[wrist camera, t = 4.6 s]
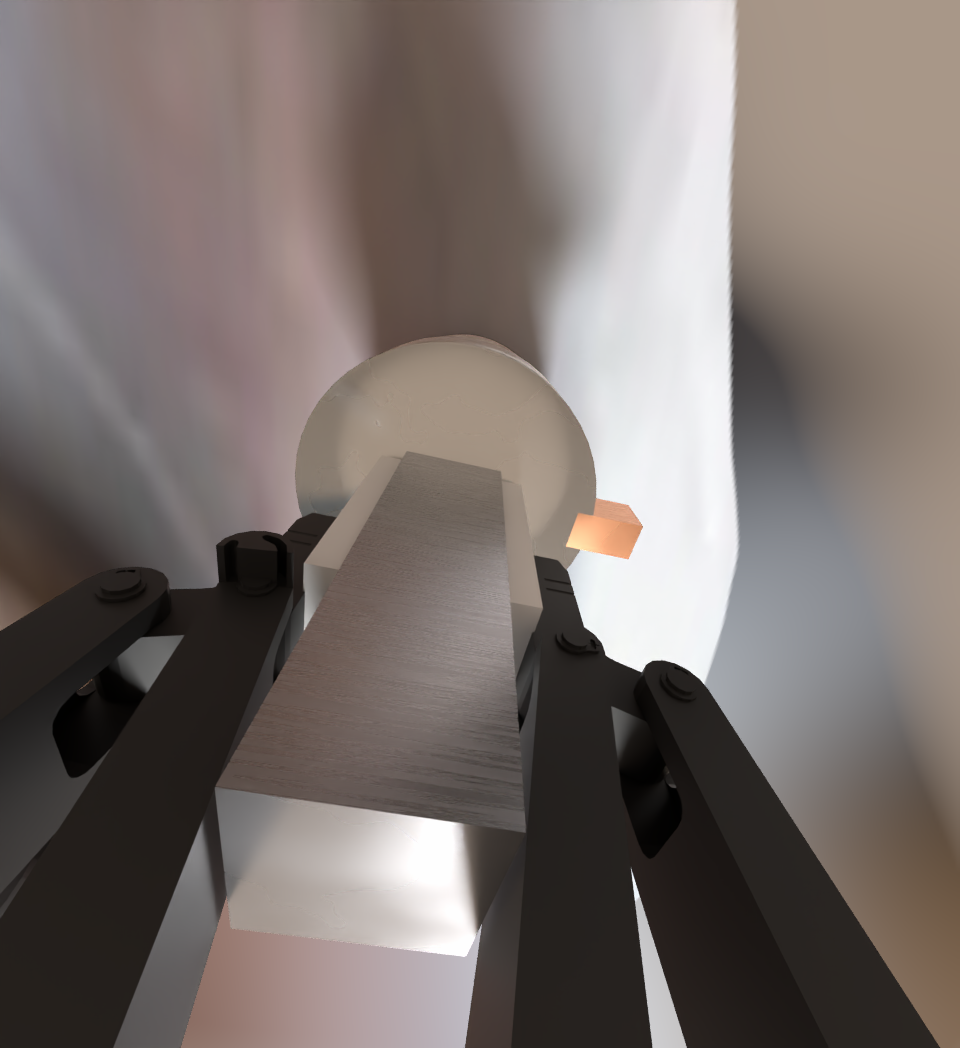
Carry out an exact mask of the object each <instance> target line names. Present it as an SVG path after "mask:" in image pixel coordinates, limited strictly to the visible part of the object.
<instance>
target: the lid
mask: <svg viewBox="0 0 960 1048" xmlns="http://www.w3.org/2000/svg"><path fill="white" fill-rule="evenodd" d="M381 455H382V456H387V457H391V458H396V459H401V462H400V463H399V465H398V467H397V469H396V470H395V472H394V474H393V476H392V477H391V479H390V481H389V483H388V484H387V486H386V488H385V490H384V491H383V493H382V495H381V497H380V498H379V500H378V502H377V504H376V505H375V507H374V509H373V511H372V512H371V514H370V516H369V518H368V519H367V521H366V523H365V525H364V526H363V528H362V530H361V532H360V533H359V535H358V537H357V539H356V540H355V542H354V544H353V546H352V547H351V549H350V551H349V553H348V554H347V556H346V558H345V560H344V561H343V563H342V565H341V567H340V569H339V570H338V572H337V574H336V576H335V577H334V579H333V581H332V583H331V584H330V586H329V588H328V590H327V591H326V593H325V595H324V597H323V598H322V600H321V602H320V604H319V605H318V607H317V609H316V611H315V612H314V614H313V616H312V618H311V619H310V621H309V623H308V625H307V626H306V628H305V630H304V632H303V633H302V635H301V637H300V639H299V640H298V642H297V644H296V646H295V647H294V649H293V651H292V653H291V654H290V656H289V658H288V660H287V661H286V663H285V665H284V667H283V668H282V670H281V672H280V674H279V675H278V677H277V679H276V681H275V682H274V684H273V686H272V688H271V689H270V691H269V693H268V695H267V696H266V698H265V700H264V702H263V703H262V705H261V707H260V709H259V710H258V712H257V714H256V716H255V717H254V719H253V721H252V723H251V724H250V726H249V728H248V730H247V731H246V733H245V735H244V737H243V738H242V740H241V742H240V744H239V745H238V747H237V749H236V751H235V752H234V754H233V756H232V758H231V760H230V761H229V763H228V765H227V767H226V768H225V770H224V772H223V774H222V775H221V777H220V779H219V781H218V782H217V784H216V786H215V795H216V804H217V813H218V821H219V830H220V839H221V848H222V857H223V865H224V874H225V883H226V892H227V899H228V900H227V901H228V909H229V917H230V926H231V929H241V930H248V931H256V932H265V933H273V934H282V935H290V936H299V937H306V938H315V939H323V940H331V941H341V942H348V943H357V944H365V945H373V946H381V947H390V948H399V949H406V950H415V951H424V952H431V953H439V954H448V955H457V956H464V957H465V956H466V955H467V953H468V951H469V949H470V947H471V945H472V943H473V941H474V939H475V937H476V935H477V932H478V930H479V928H480V926H481V924H482V922H483V920H484V918H485V916H486V914H487V912H488V910H489V908H490V906H491V904H492V902H493V900H494V898H495V896H496V894H497V891H498V889H499V887H500V885H501V883H502V881H503V879H504V877H505V875H506V873H507V871H508V869H509V867H510V865H511V863H512V861H513V859H514V857H515V855H516V852H517V850H518V848H519V846H520V844H521V842H522V840H523V838H524V836H525V834H526V824H525V810H524V795H523V781H522V766H521V752H520V737H519V723H518V708H517V694H516V679H515V665H514V650H513V636H512V622H511V607H510V593H509V578H508V564H507V549H506V535H505V520H504V506H503V491H502V481H504V482H509V483H514V484H519V485H521V486H522V492H523V497H524V503H525V509H526V514H527V520H528V526H529V531H530V537H531V543H532V549H533V554H534V555H535V556H540V557H545V558H550V559H555V560H558V561H559V562H560V563H561V564H562V566H563V567H564V568H565V569H567V568H568V567H569V566H570V565H571V563H572V562H573V560H574V559H575V557H576V556H577V554H578V552H579V551H580V549H581V550H586V551H591V552H596V553H601V554H606V555H611V556H615V557H620V558H625V559H629V556H630V554H631V552H632V550H633V548H634V545H635V543H636V541H637V539H638V536H639V534H640V532H641V530H642V527H643V526H642V524H641V523H640V521H639V520H638V519H637V517H636V516H635V514H634V513H633V511H632V510H631V508H630V507H629V506H628V505H625V504H620V503H615V502H611V501H606V500H601V499H597V498H596V475H595V468H594V461H593V457H592V454H591V450H590V447H589V443H588V441H587V439H586V436H585V434H584V432H583V430H582V427H581V425H580V423H579V422H578V420H577V419H576V417H575V415H574V414H573V412H572V411H571V409H570V408H569V406H568V405H567V404H566V402H565V401H564V400H563V399H562V397H561V396H560V395H559V393H558V392H557V391H556V390H555V388H554V387H553V386H552V385H551V384H550V383H549V381H548V380H547V379H546V378H545V377H544V376H543V375H542V374H541V373H540V372H539V371H538V370H537V369H535V368H534V367H533V366H532V365H531V364H530V363H528V362H527V361H525V360H524V359H522V358H521V357H519V356H518V355H516V354H514V353H512V352H510V351H508V350H506V349H504V348H502V347H500V346H498V345H495V344H492V343H488V342H485V341H482V340H478V339H472V338H466V337H459V336H438V337H430V338H422V339H419V340H415V341H411V342H407V343H404V344H402V345H400V346H397V347H395V348H393V349H390V350H388V351H386V352H384V353H381V354H379V355H377V356H375V357H372V358H370V359H368V360H366V361H364V362H363V363H361V364H360V365H358V366H356V367H355V368H353V369H352V370H350V371H348V372H347V373H346V374H345V375H344V376H343V377H341V378H340V379H339V380H338V381H337V382H336V383H335V384H333V385H332V386H331V388H330V389H329V390H328V391H327V392H326V394H325V395H324V396H323V397H322V398H321V399H320V401H319V402H318V404H317V405H316V407H315V409H314V410H313V412H312V414H311V415H310V417H309V419H308V421H307V424H306V426H305V429H304V431H303V433H302V436H301V440H300V444H299V448H298V452H297V459H296V470H295V478H296V493H297V498H298V503H299V508H300V512H301V514H302V517H304V516H306V515H308V514H311V513H318V514H323V515H328V516H333V517H337V516H338V515H339V514H340V512H341V511H342V509H343V508H344V507H345V505H346V504H347V502H348V501H349V500H350V498H351V497H352V496H353V494H354V493H355V491H356V490H357V489H358V487H359V486H360V484H361V483H362V482H363V480H364V479H365V477H366V476H367V475H368V473H369V472H370V471H371V469H372V468H373V466H374V465H375V464H376V462H377V461H378V459H379V458H380V457H381Z"/></svg>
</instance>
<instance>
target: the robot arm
mask: <svg viewBox="0 0 960 1048" xmlns="http://www.w3.org/2000/svg"><path fill="white" fill-rule="evenodd" d="M400 462H401V459H396V458H391V457H387V456H382V455H381V457H380V458H379V459H378V461H377V462H376V464H375V465H374V466H373V468H372V469H371V471H370V472H369V473H368V475H367V476H366V477H365V479H364V480H363V482H362V483H361V484H360V486H359V487H358V489H357V490H356V491H355V493H354V494H353V496H352V497H351V498H350V500H349V501H348V502H347V504H346V505H345V507H344V508H343V509H342V511H341V512H340V514H339V515H338V516H337V517H333V516H328V515H323V514H318V513H311V514H308V515H306V516H304V517H302V518H300V519H297V520H296V521H295V523H294V524H293V525H292V526H291V527H290V528H289V529H288V532H286V533H285V534H284V535H283V536H282V535H280V534H276V533H272V532H267V531H249V532H243V533H237V534H234V535H232V536H229V537H227V538H224V539H223V540H222V541H221V542H220V543H218V544H217V545H216V549H217V562H218V575H219V583H218V584H217V586H216V587H214V588H204V589H170V588H169V582H168V579H167V578H166V576H165V575H164V574H163V573H161V572H159V571H157V570H154V569H152V568H142V567H128V568H118V569H114V570H110V571H106V572H102V573H99V574H97V575H95V576H93V577H90V578H88V579H86V580H84V581H82V582H81V583H79V584H77V585H76V586H74V587H72V588H71V589H69V590H68V591H66V592H64V593H63V594H61V595H59V596H58V597H56V598H54V599H53V600H51V601H49V602H48V603H46V604H44V605H43V606H41V607H39V608H38V609H36V610H34V611H33V612H31V613H29V614H28V615H26V616H25V617H23V618H21V619H20V620H18V621H16V622H15V623H13V624H11V625H10V626H8V627H6V628H5V629H3V630H1V631H0V1048H181V1044H182V1041H183V1038H184V1034H185V1031H186V1028H187V1025H188V1021H189V1018H190V1015H191V1011H192V1008H193V1004H194V1001H195V998H196V995H197V991H198V988H199V985H200V982H201V978H202V975H203V972H204V968H205V965H206V962H207V958H208V955H209V952H210V949H211V945H212V942H213V939H214V935H215V932H216V929H217V925H218V922H219V919H220V916H221V912H222V909H223V906H224V902H225V899H226V896H227V892H226V883H225V874H224V865H223V857H222V848H221V839H220V830H219V821H218V813H217V804H216V795H215V786H216V784H217V782H218V781H219V779H220V777H221V775H222V774H223V772H224V770H225V768H226V767H227V765H228V763H229V761H230V760H231V758H232V756H233V754H234V752H235V751H236V749H237V747H238V745H239V744H240V742H241V740H242V738H243V737H244V735H245V733H246V731H247V730H248V728H249V726H250V724H251V723H252V721H253V719H254V717H255V716H256V714H257V712H258V710H259V709H260V707H261V705H262V703H263V702H264V700H265V698H266V696H267V695H268V693H269V691H270V689H271V688H272V686H273V684H274V682H275V681H276V679H277V677H278V675H279V674H280V672H281V670H282V668H283V667H284V665H285V663H286V661H287V660H288V658H289V656H290V654H291V653H292V651H293V649H294V647H295V646H296V644H297V642H298V640H299V639H300V637H301V635H302V633H303V632H304V630H305V628H306V626H307V625H308V623H309V621H310V619H311V618H312V616H313V614H314V612H315V611H316V609H317V607H318V605H319V604H320V602H321V600H322V598H323V597H324V595H325V593H326V591H327V590H328V588H329V586H330V584H331V583H332V581H333V579H334V577H335V576H336V574H337V572H338V570H339V569H340V567H341V565H342V563H343V561H344V560H345V558H346V556H347V554H348V553H349V551H350V549H351V547H352V546H353V544H354V542H355V540H356V539H357V537H358V535H359V533H360V532H361V530H362V528H363V526H364V525H365V523H366V521H367V519H368V518H369V516H370V514H371V512H372V511H373V509H374V507H375V505H376V504H377V502H378V500H379V498H380V497H381V495H382V493H383V491H384V490H385V488H386V486H387V484H388V483H389V481H390V479H391V477H392V476H393V474H394V472H395V470H396V469H397V467H398V465H399V463H400ZM502 491H503V506H504V520H505V535H506V549H507V564H508V578H509V593H510V607H511V622H512V636H513V650H514V665H515V679H516V694H517V708H518V723H519V737H520V752H521V766H522V781H523V795H524V810H525V824H526V834H525V836H524V838H523V840H522V842H521V844H520V846H519V848H518V850H517V852H516V855H515V857H514V859H513V861H512V863H511V865H510V867H509V869H508V871H507V873H506V875H505V877H504V879H503V881H502V883H501V885H500V887H499V889H498V891H497V894H496V896H495V898H494V900H493V902H492V904H491V906H490V908H489V910H488V912H487V914H486V916H485V918H484V920H483V922H482V929H481V936H480V943H479V950H478V958H477V965H476V972H475V979H474V986H473V994H472V1001H471V1008H470V1015H469V1023H468V1030H467V1037H466V1044H465V1048H652V1040H651V1032H650V1023H649V1015H648V1007H647V998H646V990H645V982H644V974H643V965H642V957H641V949H640V940H639V932H638V924H637V915H636V907H635V899H634V890H633V882H632V874H631V869H632V872H633V875H634V879H635V882H636V885H637V888H638V891H639V895H640V898H641V901H642V904H643V908H644V911H645V914H646V917H647V920H648V924H649V927H650V930H651V933H652V937H653V940H654V943H655V946H656V949H657V953H658V956H659V959H660V962H661V965H662V969H663V972H664V975H665V978H666V981H667V984H668V988H669V991H670V994H671V998H672V1001H673V1004H674V1007H675V1011H676V1014H677V1017H678V1020H679V1023H680V1026H681V1030H682V1033H683V1036H684V1039H685V1043H686V1046H687V1048H940V1047H939V1045H938V1044H937V1042H936V1041H935V1039H934V1038H933V1036H932V1034H931V1033H930V1031H929V1030H928V1028H927V1027H926V1026H925V1024H924V1022H923V1021H922V1019H921V1018H920V1016H919V1014H918V1013H917V1011H916V1010H915V1008H914V1007H913V1005H912V1004H911V1002H910V1000H909V999H908V997H907V996H906V994H905V993H904V991H903V990H902V988H901V987H900V985H899V983H898V982H897V980H896V979H895V977H894V976H893V974H892V973H891V971H890V970H889V968H888V967H887V965H886V963H885V962H884V960H883V959H882V957H881V956H880V954H879V953H878V951H877V950H876V948H875V946H874V945H873V943H872V942H871V940H870V939H869V937H868V936H867V934H866V933H865V931H864V929H863V928H862V927H861V925H860V923H859V922H858V920H857V919H856V917H855V916H854V914H853V912H852V911H851V909H850V908H849V906H848V905H847V903H846V902H845V900H844V899H843V897H842V896H841V894H840V892H839V891H838V889H837V888H836V886H835V885H834V883H833V882H832V880H831V879H830V877H829V875H828V874H827V872H826V871H825V869H824V868H823V866H822V865H821V863H820V861H819V860H818V859H817V857H816V855H815V854H814V852H813V851H812V849H811V848H810V846H809V844H808V843H807V841H806V840H805V838H804V837H803V835H802V834H801V832H800V831H799V829H798V828H797V826H796V824H795V823H794V822H793V820H792V818H791V817H790V815H789V814H788V812H787V811H786V809H785V807H784V806H783V804H782V803H781V801H780V800H779V798H778V797H777V795H776V794H775V792H774V790H773V789H772V788H771V786H770V784H769V783H768V781H767V780H766V778H765V776H764V775H763V773H762V772H761V770H760V769H759V767H758V766H757V764H756V763H755V761H754V760H753V758H752V757H751V755H750V753H749V752H748V750H747V749H746V747H745V746H744V744H743V743H742V741H741V740H740V738H739V736H738V735H737V733H736V732H735V730H734V729H733V727H732V726H731V724H730V722H729V721H728V720H727V718H726V716H725V715H724V713H723V712H722V710H721V709H720V707H719V705H718V704H717V702H716V701H715V699H714V698H713V696H712V695H711V693H710V692H709V690H708V689H707V688H706V686H705V685H704V684H703V683H702V682H701V680H700V679H699V678H697V677H696V676H695V675H693V674H692V673H691V672H690V671H688V670H687V669H685V668H683V667H681V666H679V665H677V664H675V663H671V662H667V661H663V660H661V661H652V662H650V663H648V664H647V665H646V666H645V668H644V670H643V672H639V671H637V670H634V669H632V668H630V667H627V666H625V665H623V664H620V663H618V662H616V661H614V660H612V659H610V658H608V657H607V656H606V655H605V651H604V648H603V646H602V643H601V642H600V641H599V640H598V638H597V637H596V636H595V635H594V634H593V633H591V632H590V631H589V630H587V629H586V628H584V625H583V622H582V619H581V615H580V612H579V608H578V605H577V602H576V598H575V596H574V591H573V588H572V586H571V581H570V578H569V574H568V571H567V570H566V569H565V568H564V567H563V566H562V564H561V563H560V562H559V561H558V560H555V559H550V558H545V557H540V556H535V555H534V554H533V549H532V543H531V537H530V531H529V526H528V520H527V514H526V509H525V503H524V497H523V492H522V486H521V485H519V484H514V483H509V482H504V481H502ZM92 678H93V680H92V681H91V682H90V683H89V684H87V685H86V686H85V687H83V686H84V685H85V684H86V683H87V682H88V681H90V680H91V679H92ZM81 687H83V688H82V689H80V688H81ZM79 689H80V690H79ZM78 690H79V691H78Z"/></svg>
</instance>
